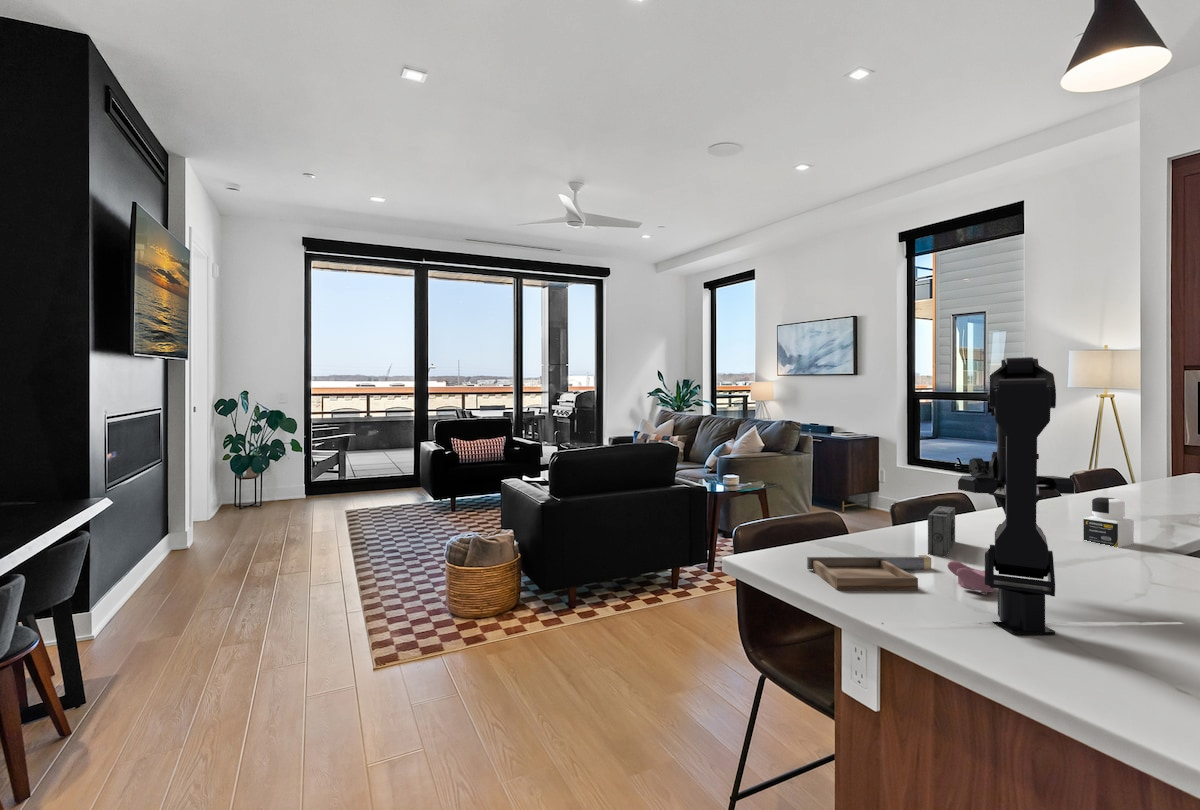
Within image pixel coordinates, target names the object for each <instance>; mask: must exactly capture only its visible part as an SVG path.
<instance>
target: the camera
mask: <svg viewBox="0 0 1200 810" xmlns="http://www.w3.org/2000/svg"><path fill="white" fill-rule="evenodd" d="M954 542H955V543H956V507H954V506H941V505H938V506H937V507H935V508H934V509H933V510H932V511H931V512H929V513H928V514H927V555H929V554H930V555H929V556H935V555H937V556H936V557H943V556H945V558H947V556H948V555H947V554H949V553H950V552H951V549H952V547H953V546H954V545H955V543H954ZM953 544H954V545H953ZM948 552H949V553H948Z"/></svg>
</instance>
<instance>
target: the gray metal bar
mask: <svg viewBox="0 0 1200 810" xmlns="http://www.w3.org/2000/svg"><path fill="white" fill-rule="evenodd" d="M813 561H819V562H821V563H822V564H823V565H825V566H826V567H881V561H887V562H889V563H891V564H893V565H895V566H896V567H898V568H900V569H902V570H932V557H930V556H928V555H926V554H919V555H918V556H806V569H807V570H813Z"/></svg>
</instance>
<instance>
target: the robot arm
mask: <svg viewBox="0 0 1200 810" xmlns="http://www.w3.org/2000/svg"><path fill="white" fill-rule="evenodd" d="M1056 387H1057V386H1056V381H1055V375H1054V373H1052V372H1050V371H1049V370H1048V369H1046V368H1044V367H1042V366H1041V365H1040V364H1039V358H1034V357H1033V356H1031V357H1029V356H1027V357H1006V358H1005V359H1001V366H1000V367H999V368H998V369H996V370H995V371H994V372H992V373H991V374H990V375H989V391H988V392H987V413H990V416H991V417H994V420H995V422H996V451H992V454H991V459H990V460H984V459H983V458H982V457H981V458H979V457H977V458H975V457H974V458H971V459H969V460H968V461H969V462H968V471H969V474H968V475H967V474H966V475H961V476H960V478H959V479H958V481H957V489H958V490H959V491H964V492H969V493H973V494H988V495H989V496H993V497H994V498H995V499H996V500H997V501H998V502H999V504H1000V506H1001V508H1002V510H1003V512H1004V516H1005V519H1004V520H1003V521H1002V523H999V524H998V525H997V526H996V528H995V531H994V544H989V548H988V550H987V551H985V552H984V571H985V585H988V586H990V588H995V589H998V590H997V616H998V617H999V621H992V624H995V625H996V626H998V627H1000V628H1001V629H1004V630H1005V631H1007V632H1008V633H1011V634H1013V635H1017V636H1018V635H1027V636H1028V635H1030V636H1033V635H1036V636H1037V635H1039V636H1040V635H1048V636H1049V635H1051V636H1052V635H1056V630H1054V629H1052V628H1051V627H1048V626H1046V596H1050V597H1056V578H1055V577H1056V576H1055V564H1054V563H1055V562H1054V552H1053V550H1049V546H1048V542H1047V541H1048V540H1047V536H1046V535H1045V533H1044V531H1043V530H1042V528H1041V527H1040V526H1039V525H1038V524H1037V503H1038V502H1039V501H1040V499H1045V495H1044V494H1040V490H1041V491H1055V492H1056V493H1057V494H1060V495H1061V494H1062V495H1063V494H1067V495H1068V494H1069V495H1072V494H1073V495H1074V494H1075V493H1076V486H1075V485H1076V484H1075V483H1074V481H1073V479H1071V477H1063V476H1057V475H1038V473H1037V472H1038V460H1039V459H1040V453H1038V437H1039V436H1040V434H1041V433H1042V432H1044V431H1043V430H1045V428H1046V427H1047V426H1048V425H1049V423H1050V421H1051V409H1055V408H1056V406H1057V391H1056V390H1057V388H1056ZM995 571H996V572H998V574H995V573H994V572H995ZM1045 577H1047V580H1044V579H1045Z"/></svg>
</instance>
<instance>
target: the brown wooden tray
mask: <svg viewBox="0 0 1200 810" xmlns="http://www.w3.org/2000/svg"><path fill="white" fill-rule="evenodd" d="M812 572H813V573H814V574H816V575H817V576H818V577H820V578H821V579H823V580H824V581H825V582H826V583H828V585H829V586H831V587H832V588H834V589H835V590H836V591H919V578H918V577H916V576H914V575H913V574H911V573H909V572H907V571H905V569H900V568H898V567H896V566H895V565H893V564H891V563H889V562H887V561H881V567H826V566H825V565H823V564H822V563H821V562H819V561H813V569H812Z"/></svg>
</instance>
